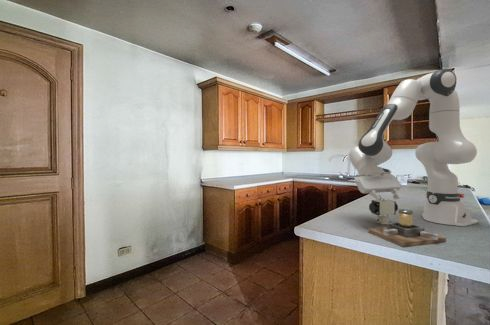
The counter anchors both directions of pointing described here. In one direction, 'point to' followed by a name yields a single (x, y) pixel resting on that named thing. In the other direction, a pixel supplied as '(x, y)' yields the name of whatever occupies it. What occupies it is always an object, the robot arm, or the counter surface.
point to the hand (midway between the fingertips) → (388, 199)
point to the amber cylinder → (405, 218)
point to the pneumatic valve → (383, 209)
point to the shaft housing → (406, 235)
